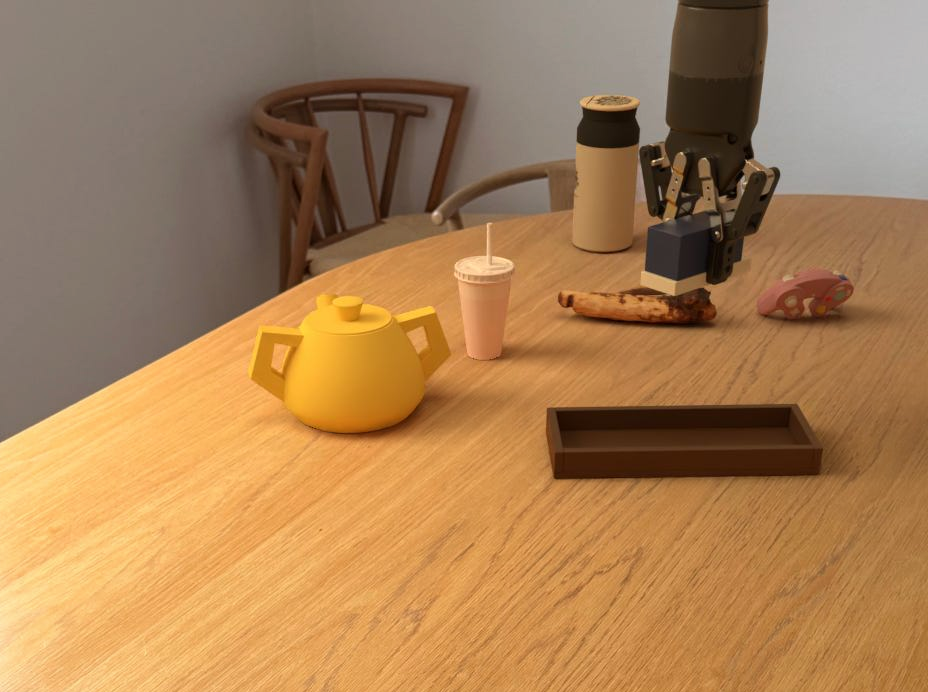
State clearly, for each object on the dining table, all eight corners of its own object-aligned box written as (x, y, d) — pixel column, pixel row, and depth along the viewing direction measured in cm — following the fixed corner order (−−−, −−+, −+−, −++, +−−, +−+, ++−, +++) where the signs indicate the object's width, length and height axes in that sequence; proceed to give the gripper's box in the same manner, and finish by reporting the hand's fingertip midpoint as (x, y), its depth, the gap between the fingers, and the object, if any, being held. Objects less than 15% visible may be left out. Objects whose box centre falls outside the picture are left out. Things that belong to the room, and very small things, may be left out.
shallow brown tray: (793, 428, 120) (797, 403, 118) (819, 474, 112) (823, 448, 110) (545, 432, 120) (546, 407, 118) (553, 478, 112) (554, 452, 110)
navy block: (715, 260, 115) (721, 204, 112) (750, 271, 112) (757, 214, 109) (640, 285, 109) (644, 227, 107) (674, 296, 107) (679, 237, 104)
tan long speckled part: (715, 309, 148) (562, 298, 150) (720, 269, 145) (565, 258, 148) (714, 335, 140) (554, 322, 143) (720, 293, 138) (556, 281, 140)
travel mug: (639, 239, 169) (649, 96, 159) (621, 256, 163) (631, 109, 153) (583, 233, 172) (590, 92, 162) (563, 249, 166) (569, 104, 156)
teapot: (418, 355, 136) (415, 253, 130) (472, 422, 121) (472, 311, 115) (234, 379, 131) (222, 275, 125) (268, 452, 117) (256, 338, 110)
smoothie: (496, 368, 133) (497, 235, 125) (443, 358, 135) (441, 226, 127) (523, 348, 137) (527, 218, 129) (472, 338, 140) (472, 210, 132)
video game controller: (764, 335, 144) (784, 290, 138) (751, 306, 146) (770, 260, 140) (842, 327, 146) (865, 282, 140) (828, 298, 148) (851, 253, 142)
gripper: (818, 71, 98) (788, 286, 108) (681, 48, 107) (665, 249, 117) (756, 84, 94) (731, 306, 104) (620, 59, 104) (608, 266, 113)
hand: (696, 275), depth 111 cm, fingers closed on navy block, 4 cm apart
